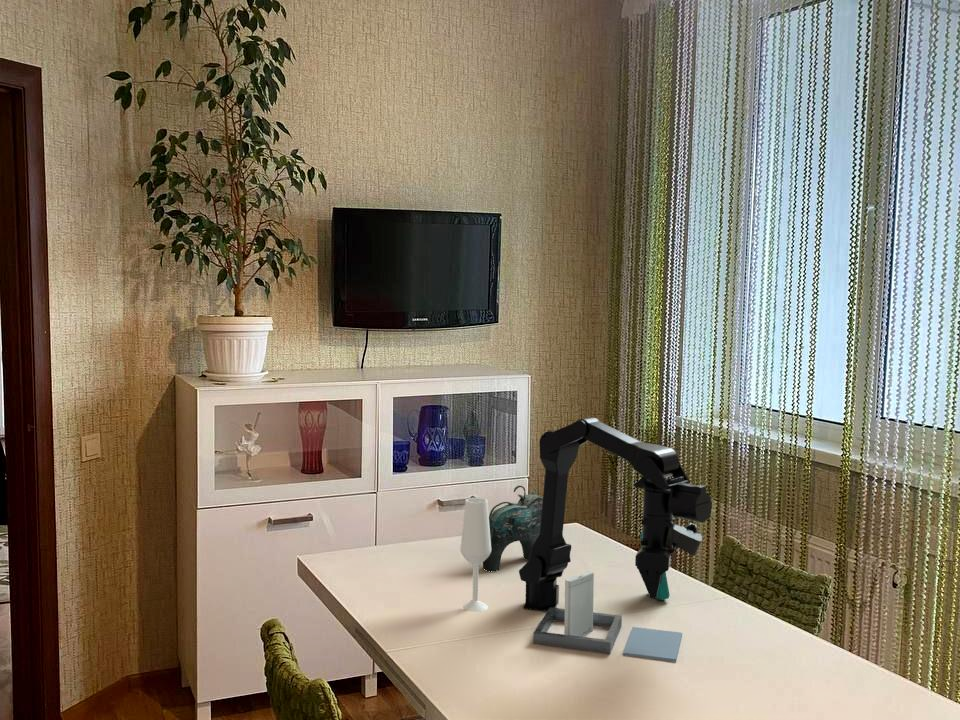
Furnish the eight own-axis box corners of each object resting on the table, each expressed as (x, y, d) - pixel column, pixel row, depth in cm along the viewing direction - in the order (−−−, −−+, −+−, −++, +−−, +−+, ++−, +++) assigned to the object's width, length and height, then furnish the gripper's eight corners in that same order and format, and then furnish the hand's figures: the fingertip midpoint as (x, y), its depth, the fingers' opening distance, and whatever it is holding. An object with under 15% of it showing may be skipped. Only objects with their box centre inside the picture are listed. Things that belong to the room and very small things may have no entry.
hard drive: (593, 631, 193) (595, 572, 192) (569, 643, 187) (570, 581, 186) (587, 629, 194) (588, 570, 193) (562, 640, 188) (564, 580, 187)
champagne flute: (454, 611, 204) (456, 502, 202) (466, 601, 210) (468, 495, 208) (483, 615, 202) (485, 505, 199) (495, 605, 208) (496, 498, 206)
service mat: (623, 655, 181) (623, 652, 181) (632, 629, 195) (632, 626, 195) (676, 662, 179) (676, 659, 178) (682, 635, 192) (682, 632, 192)
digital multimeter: (660, 603, 210) (672, 600, 211) (649, 538, 209) (662, 535, 210) (648, 594, 217) (660, 591, 218) (638, 531, 216) (650, 529, 217)
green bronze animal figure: (532, 555, 246) (534, 479, 244) (550, 560, 241) (552, 483, 239) (476, 570, 232) (477, 490, 231) (494, 576, 228) (495, 495, 226)
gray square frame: (533, 645, 186) (533, 633, 186) (549, 618, 200) (549, 607, 200) (610, 655, 181) (610, 642, 181) (621, 627, 196) (621, 615, 196)
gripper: (697, 528, 173) (694, 611, 174) (703, 505, 191) (700, 580, 192) (636, 523, 176) (633, 604, 177) (647, 500, 194) (645, 575, 195)
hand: (655, 590), depth 185 cm, fingers open, 9 cm apart
